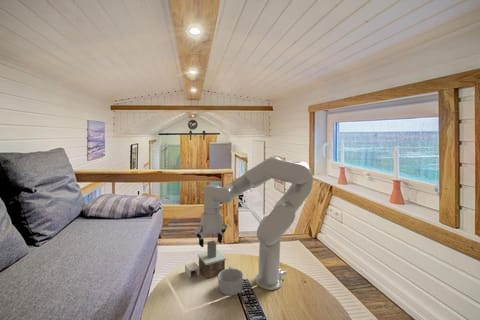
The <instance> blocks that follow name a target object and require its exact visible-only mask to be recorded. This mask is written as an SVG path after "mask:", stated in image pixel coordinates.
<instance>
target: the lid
mask: <svg viewBox="0 0 480 320" xmlns="http://www.w3.org/2000/svg"><path fill="white" fill-rule="evenodd" d="M206 242H207V251H205V252H202V253H198V254H197V257H198V259H199V258H200V259H201V260H202V261H203V262H204V263H205V265H209V264H213V263H216V262H220V261H224V260H225V261H227V257H225V255H223V254H222V253H221V252H220V251H219V250H218V249H217V243H216V242H215V240H211V241H210V240H209V241H206Z"/></svg>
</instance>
